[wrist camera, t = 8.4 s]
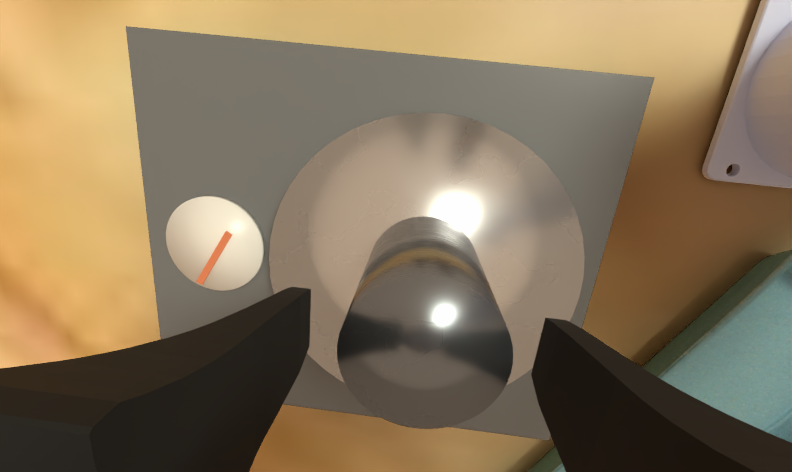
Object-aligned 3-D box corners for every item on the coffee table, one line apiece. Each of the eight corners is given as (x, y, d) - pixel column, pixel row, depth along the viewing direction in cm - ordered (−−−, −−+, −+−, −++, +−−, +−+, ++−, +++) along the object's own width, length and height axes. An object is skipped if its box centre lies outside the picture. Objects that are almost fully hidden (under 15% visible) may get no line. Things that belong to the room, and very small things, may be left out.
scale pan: (614, 131, 14) (625, 132, 13) (539, 409, 18) (544, 422, 17) (276, 96, 14) (267, 95, 13) (276, 374, 18) (269, 385, 17)
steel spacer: (483, 218, 14) (524, 282, 9) (473, 320, 16) (502, 434, 10) (369, 214, 15) (334, 273, 9) (369, 314, 16) (338, 422, 10)
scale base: (625, 83, 15) (661, 76, 13) (537, 410, 20) (551, 447, 18) (161, 37, 16) (117, 23, 14) (189, 364, 21) (161, 393, 19)
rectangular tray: (763, 229, 17) (818, 246, 15) (895, 332, 18) (966, 363, 16) (433, 534, 24) (434, 578, 22) (539, 595, 25) (551, 643, 23)
